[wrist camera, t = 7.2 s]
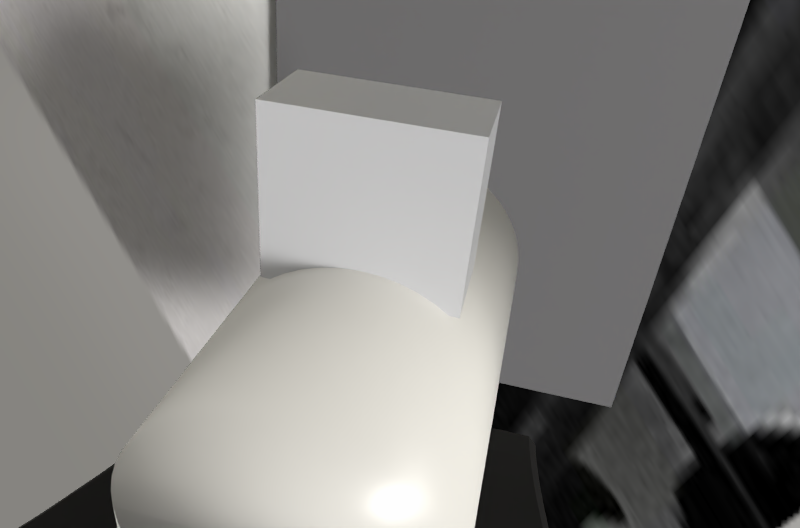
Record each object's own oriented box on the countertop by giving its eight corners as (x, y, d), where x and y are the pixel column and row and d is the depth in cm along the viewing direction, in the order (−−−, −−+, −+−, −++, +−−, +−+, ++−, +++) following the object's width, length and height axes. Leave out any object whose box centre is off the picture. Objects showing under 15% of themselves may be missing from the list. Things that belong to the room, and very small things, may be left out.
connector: (457, 558, 13) (395, 895, 9) (308, 520, 13) (180, 821, 9) (562, 57, 8) (535, 278, 4) (317, 22, 8) (42, 181, 4)
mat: (610, 400, 19) (610, 407, 19) (283, 328, 21) (279, 334, 21) (747, -3, 14) (749, -1, 13) (280, -61, 15) (275, -60, 15)
